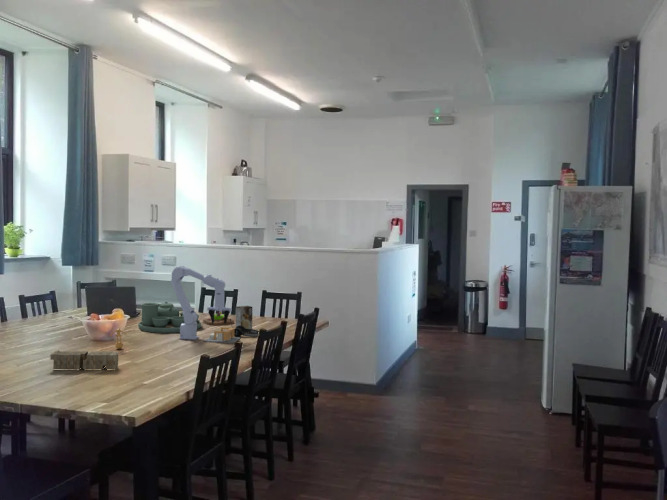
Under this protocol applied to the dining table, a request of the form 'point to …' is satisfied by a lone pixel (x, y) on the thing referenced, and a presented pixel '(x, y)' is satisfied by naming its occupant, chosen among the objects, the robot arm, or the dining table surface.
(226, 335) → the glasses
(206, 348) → the dining table surface
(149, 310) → the tea set
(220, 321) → the plant
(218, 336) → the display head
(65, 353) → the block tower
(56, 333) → the dining table surface
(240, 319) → the coffee box
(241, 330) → the headset
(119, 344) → the figurine
